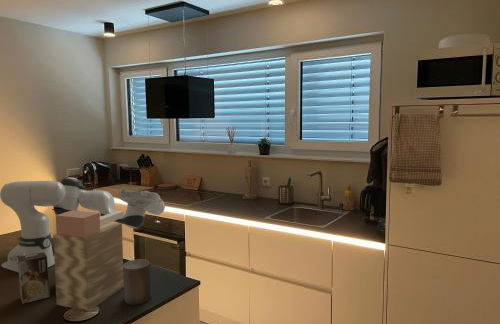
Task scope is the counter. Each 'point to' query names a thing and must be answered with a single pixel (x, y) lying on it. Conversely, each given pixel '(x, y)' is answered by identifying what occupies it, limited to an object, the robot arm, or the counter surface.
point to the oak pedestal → (88, 267)
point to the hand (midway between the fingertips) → (130, 191)
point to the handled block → (83, 222)
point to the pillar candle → (137, 281)
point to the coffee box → (33, 277)
